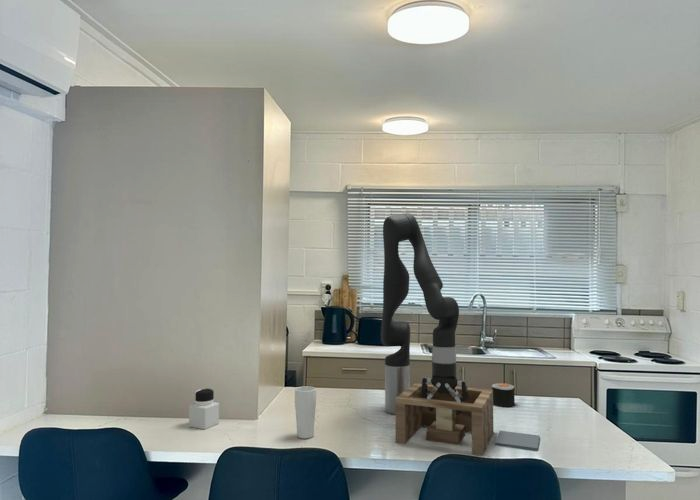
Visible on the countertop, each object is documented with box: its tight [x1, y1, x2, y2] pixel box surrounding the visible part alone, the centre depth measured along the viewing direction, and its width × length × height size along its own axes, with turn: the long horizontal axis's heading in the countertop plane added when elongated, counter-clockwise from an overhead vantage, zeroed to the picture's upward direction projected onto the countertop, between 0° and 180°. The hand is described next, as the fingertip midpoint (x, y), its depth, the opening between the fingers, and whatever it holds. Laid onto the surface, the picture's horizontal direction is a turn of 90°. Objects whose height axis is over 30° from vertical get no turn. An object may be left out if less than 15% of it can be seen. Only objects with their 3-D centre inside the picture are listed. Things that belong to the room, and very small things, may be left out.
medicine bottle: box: [188, 388, 220, 430], centre depth 168 cm, size 7×7×12 cm
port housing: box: [394, 382, 494, 457], centre depth 156 cm, size 22×26×14 cm
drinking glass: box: [294, 385, 317, 440], centre depth 157 cm, size 7×7×15 cm
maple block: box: [436, 408, 456, 431], centre depth 156 cm, size 5×5×7 cm
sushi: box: [491, 382, 516, 409], centre depth 193 cm, size 8×8×8 cm
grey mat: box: [494, 430, 540, 452], centre depth 152 cm, size 12×12×1 cm
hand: (444, 412), depth 156 cm, fingers open, 8 cm apart
